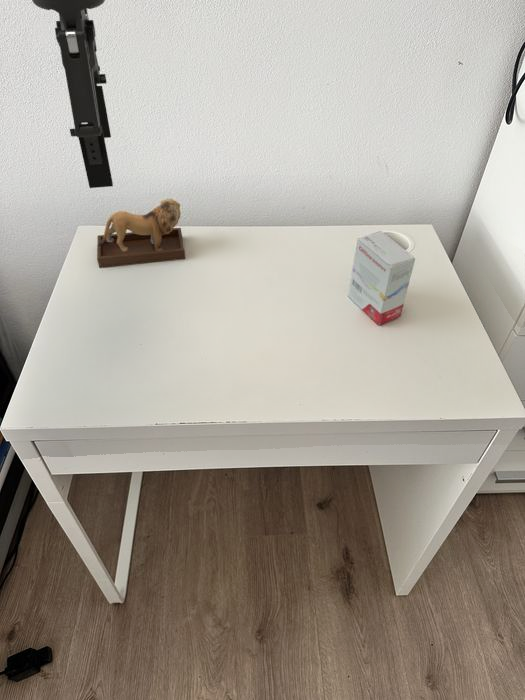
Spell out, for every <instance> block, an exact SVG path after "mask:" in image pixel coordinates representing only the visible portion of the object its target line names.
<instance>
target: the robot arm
mask: <svg viewBox="0 0 525 700" xmlns="http://www.w3.org/2000/svg"><path fill="white" fill-rule="evenodd" d="M31 1H32V4H34V5H35V6H36V7H38V8H39V9H43V10H46V11H50V10H52V11H54V12H56V13H57V14H58V16H59V17H58V18H59V20H56V21H55V24H56V27H54V32H55V40H56V42H57V44H58V46H59V50H60V56H61V63H62V66H63V69H64V73H65V78H66V79H65V80H66V85H67V90H68V96H69V102H70V108H71V115H72V119H73V125H74V128H69V133H70V137H76V138H78V142H79V146H80V151H81V155H82V156H81V157H82V160H83V164H84V169H85V175H86V178H87V183H88V186H89V189H97V188H108V187H109V188H110V187H114V182H113V178H112V172H111V166H110V162H109V156H108V150H107V145H106V140H105V139H107V138H109V139H110V138H111V137H112V134H111V128H110V122H109V117H108V112H107V111H108V110H107V105H106V100H105V94H104V89H103V84H105V85H106V84H107V82H108V81H107V75H106V73H100V72H101V67H100V65H99V61H98V56H97V53H96V52H97V51H98V50H97V49H98V48H97V41H96V37H97V36H96V35H97V34H96V29H95V28H96V27H95V22H94V19H90V18H89V13H88V10H92V9H93V10H94V9H95V8H98V7H100V6H101V5H103V4H104V3H105V1H106V0H31Z"/></svg>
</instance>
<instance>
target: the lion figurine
mask: <svg viewBox="0 0 525 700" xmlns="http://www.w3.org/2000/svg"><path fill="white" fill-rule="evenodd" d="M180 219H181V204H180V202H178V201H177V200H175V199H172V198H166V199H162V200H160V204H159V205H158V206H156V207H154V208H153V209H152V210H151V211H149V212H148V213H146V214H133V213H131V212H127V211H123V210H120V211H116V212H114V213H112V214H111V215H110V216H109V218H108V219H107V221H106V224H105V229H104V232H103V235H104V237H103V239H102V240H101V241H100V242H99V244H98V245H97V244H96V247H97V246H102V245H103V244H104V242H105V240H107V242H109V243H112V242H114V239H113V238H111V235H112V234H117V236H118V239H117V244H118V245H119V246H120V248H121V250H122V251H123V252H128V251H129V249H128V247H125V246H124V245H123V239H124V237H125V235H126V233H127V231H130V232H133V233H135V234H138V235H151V243H152V244H155V249H156V251H160V250H163V248H162V247H160V243H161V239H162V235H165V234H169V233H170V232H172V230H173V228H176V226H177V225H178V223H179V220H180Z"/></svg>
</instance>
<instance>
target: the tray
mask: <svg viewBox="0 0 525 700" xmlns="http://www.w3.org/2000/svg"><path fill="white" fill-rule="evenodd" d="M103 237H104V234H99V235H97V241H96V242H97V243H96V247H97V248H96V260H97V264H98V267H99V269H101V268H110V267H111V268H112V267H120V266H130V265H140V264H149V263H158V262H169V261H177V260H185V259H186V253H185V245H184V239H183V233H182V227H174V228H173V230H172V232H170V233H169V234H165V235H162V239H161V243H160V247H162V248H163V250H160V251H156V249H155V244H152V243H151V235H138V234H135V233H133V232H131V231H130V232H126V235H125V237H124V239H123V245H124V246H125V247H128V249H129V251H128V252H123V251H122V250H121V248H120V246H119V245H118V244H117V239H118V236H117V233H113V234H112V235H111V238H113V239H114V242H112V243H109V242H107V240H105V242H104V244H103V245H102V246H97V245H98V244H99V242H100V241H101V240H102V239H103Z"/></svg>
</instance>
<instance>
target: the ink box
mask: <svg viewBox="0 0 525 700" xmlns="http://www.w3.org/2000/svg"><path fill="white" fill-rule="evenodd" d="M415 262H416V257H415V256H413V255H412V254H411V253H410V252H408V250H406V249H405V248H403V247H402V246H401V245H399V244H398V243H397V242H396V241H395V240H393V239H392V238H391V237H390V236H388V235H387V234H386V233H385V232H383V231H381V230H380V231H375V232H373V233H370V234H368V235H364V236H361V237H358V238H357V240H356V245H355V251H354V257H353V264H352V270H351V277H350V280H349V281H350V282H349V288H348V293H347V294H348V295H347V297H348V298H349V299H350V300H351V301H352V302H353V303H354V304H355V305H357V306H358V307H359V308H360V309H361V311H363V312H364V314H366V315H367V316H368V317H369V318H370V319H371V320H372V321H373V322H374V323H375V324H376V325H378V326H382V325H384V324H386V323H390V322H391V321H394V320H396V319H397V318H400V317H401V315H402V311H403V307H404V303H405V300H406V297H407V292H408V288H409V285H410V280H411V278H412V277H411V276H412V274H413V269H414V267H415Z"/></svg>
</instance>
